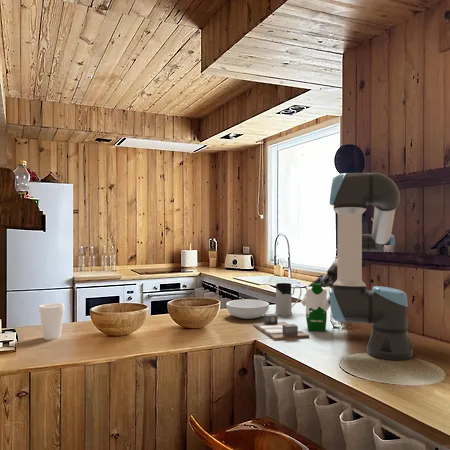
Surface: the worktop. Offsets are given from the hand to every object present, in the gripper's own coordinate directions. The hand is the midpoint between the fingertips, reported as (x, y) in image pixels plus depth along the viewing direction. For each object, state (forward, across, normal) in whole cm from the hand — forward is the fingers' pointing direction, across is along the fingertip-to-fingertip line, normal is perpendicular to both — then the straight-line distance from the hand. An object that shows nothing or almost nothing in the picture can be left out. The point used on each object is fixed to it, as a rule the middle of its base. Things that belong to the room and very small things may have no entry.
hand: (312, 306), depth 195 cm
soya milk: (+6, 0, -8) cm, 10 cm away
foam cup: (+78, +42, +63) cm, 109 cm away
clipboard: (+17, +4, +3) cm, 18 cm away
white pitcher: (-2, +32, -16) cm, 36 cm away
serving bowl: (+15, +35, 0) cm, 38 cm away
